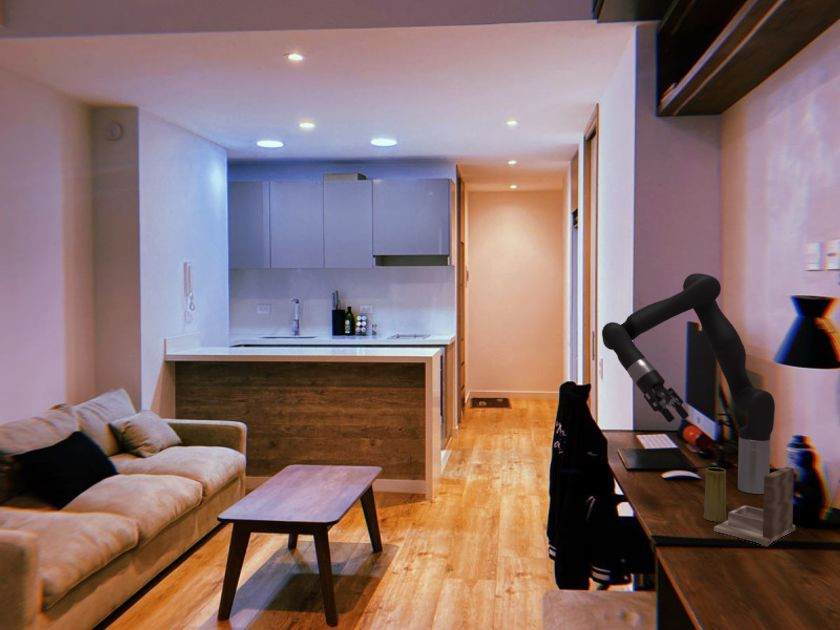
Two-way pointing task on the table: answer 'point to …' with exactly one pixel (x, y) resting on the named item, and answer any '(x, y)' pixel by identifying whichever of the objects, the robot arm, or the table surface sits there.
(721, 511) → the vase
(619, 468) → the table surface
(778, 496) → the post stand
